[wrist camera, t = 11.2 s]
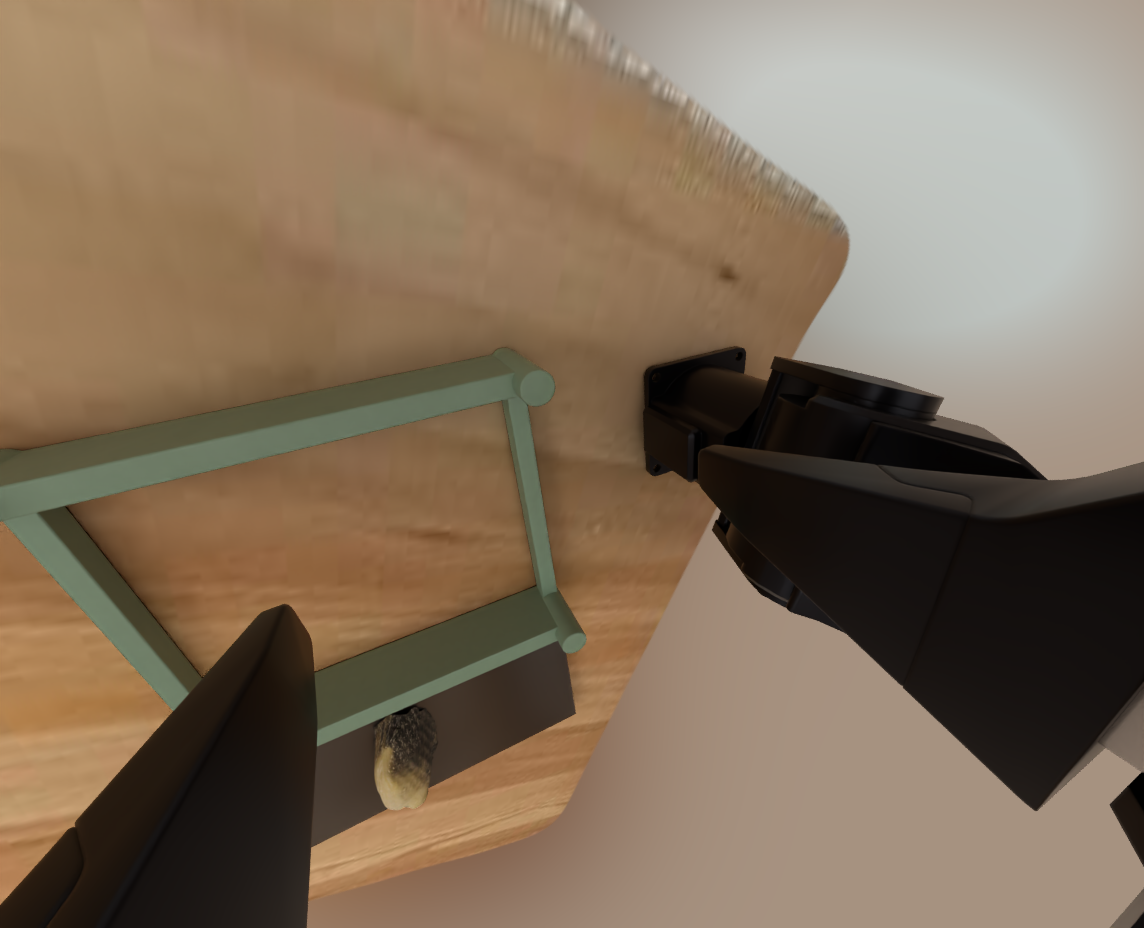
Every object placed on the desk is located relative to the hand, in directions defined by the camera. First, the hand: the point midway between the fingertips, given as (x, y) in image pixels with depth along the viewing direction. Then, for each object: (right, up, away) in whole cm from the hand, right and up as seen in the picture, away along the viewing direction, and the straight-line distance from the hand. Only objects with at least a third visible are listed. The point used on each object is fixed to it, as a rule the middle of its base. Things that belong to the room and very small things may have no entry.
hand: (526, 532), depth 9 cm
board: (-10, -15, +17) cm, 25 cm away
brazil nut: (-9, -15, +17) cm, 25 cm away
